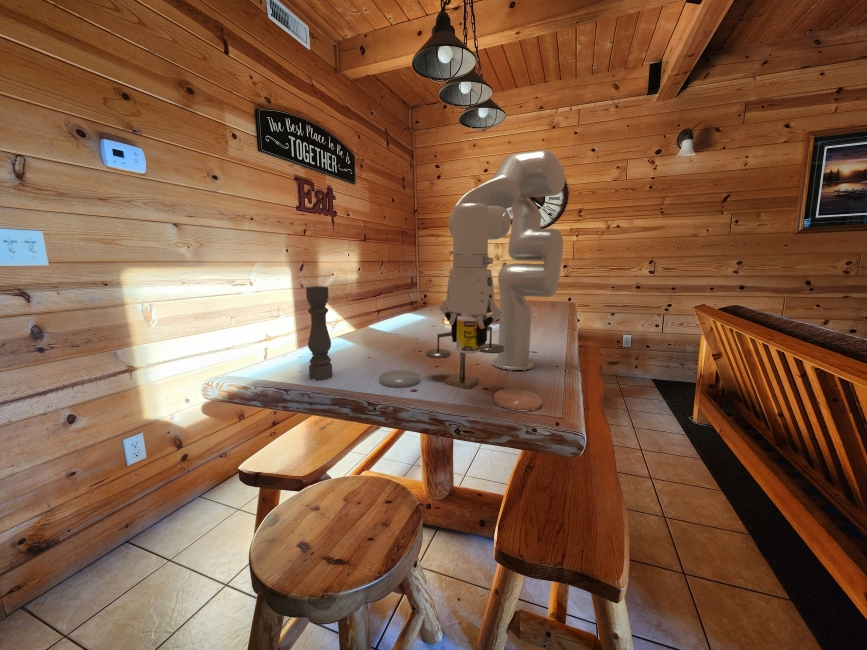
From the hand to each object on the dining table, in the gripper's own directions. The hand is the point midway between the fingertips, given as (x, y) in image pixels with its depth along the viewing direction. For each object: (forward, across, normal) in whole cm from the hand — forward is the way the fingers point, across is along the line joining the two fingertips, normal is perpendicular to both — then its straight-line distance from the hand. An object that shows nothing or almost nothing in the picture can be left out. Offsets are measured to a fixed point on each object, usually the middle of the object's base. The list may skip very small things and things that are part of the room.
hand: (468, 342), depth 84 cm
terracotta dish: (+14, -10, -6) cm, 19 cm away
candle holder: (+14, +42, +8) cm, 45 cm away
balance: (+14, +7, -10) cm, 19 cm away
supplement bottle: (+2, 0, 0) cm, 2 cm away
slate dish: (+14, +22, -2) cm, 26 cm away
